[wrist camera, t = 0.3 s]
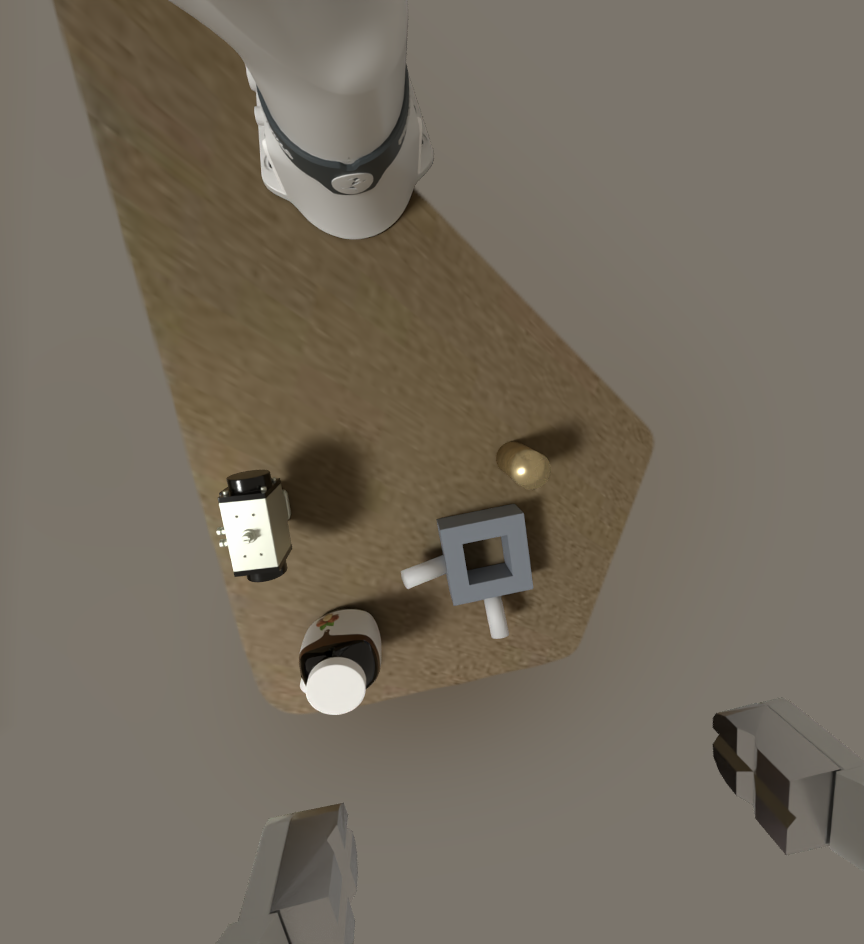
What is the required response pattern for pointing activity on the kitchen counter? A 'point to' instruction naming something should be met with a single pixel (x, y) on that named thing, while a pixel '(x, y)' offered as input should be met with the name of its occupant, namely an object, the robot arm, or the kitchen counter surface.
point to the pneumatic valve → (256, 525)
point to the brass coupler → (523, 465)
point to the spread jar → (340, 660)
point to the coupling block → (486, 579)
